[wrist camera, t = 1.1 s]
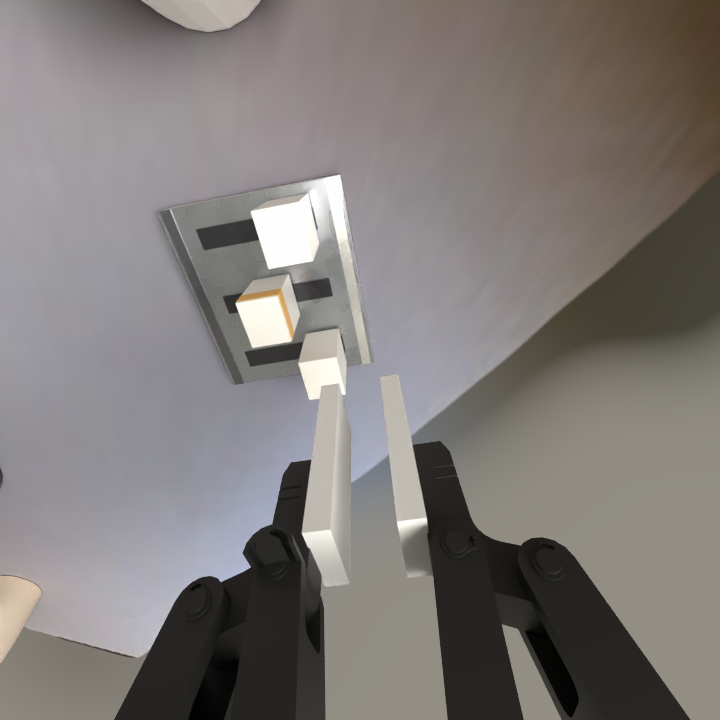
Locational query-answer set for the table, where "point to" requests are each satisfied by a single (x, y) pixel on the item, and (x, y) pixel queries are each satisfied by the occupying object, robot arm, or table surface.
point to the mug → (204, 12)
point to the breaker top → (286, 230)
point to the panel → (270, 275)
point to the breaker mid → (269, 311)
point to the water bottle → (15, 609)
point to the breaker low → (322, 361)
